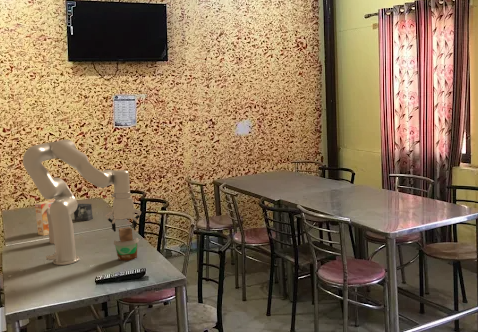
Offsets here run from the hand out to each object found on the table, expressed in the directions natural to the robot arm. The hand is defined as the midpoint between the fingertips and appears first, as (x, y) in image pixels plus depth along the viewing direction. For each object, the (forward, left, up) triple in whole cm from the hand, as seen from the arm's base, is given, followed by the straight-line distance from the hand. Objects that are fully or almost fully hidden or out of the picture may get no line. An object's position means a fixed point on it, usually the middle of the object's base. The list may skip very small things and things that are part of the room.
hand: (124, 229), depth 263 cm
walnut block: (0, 0, -5) cm, 5 cm away
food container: (0, 0, -15) cm, 15 cm away
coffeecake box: (-31, +83, -15) cm, 90 cm away
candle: (-28, +54, -15) cm, 62 cm away
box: (-9, +108, -15) cm, 109 cm away
